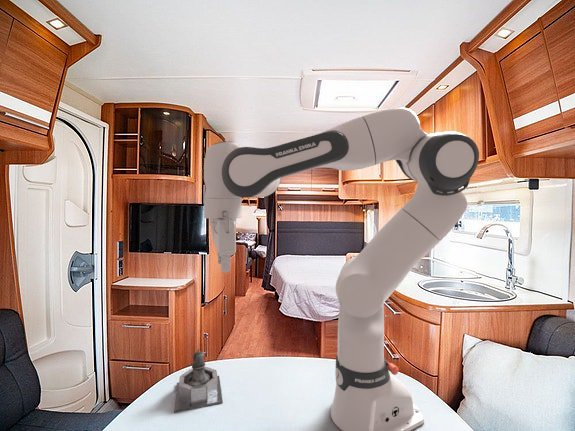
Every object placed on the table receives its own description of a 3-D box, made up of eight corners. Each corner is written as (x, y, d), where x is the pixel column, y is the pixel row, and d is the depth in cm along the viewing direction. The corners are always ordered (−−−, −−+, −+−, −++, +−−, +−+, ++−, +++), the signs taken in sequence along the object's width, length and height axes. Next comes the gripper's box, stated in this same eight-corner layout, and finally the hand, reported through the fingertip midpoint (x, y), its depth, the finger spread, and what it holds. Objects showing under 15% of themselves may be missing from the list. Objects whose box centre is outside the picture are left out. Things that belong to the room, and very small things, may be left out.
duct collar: (219, 377, 89) (219, 362, 88) (222, 403, 77) (222, 386, 77) (176, 384, 85) (176, 369, 85) (174, 412, 74) (173, 394, 73)
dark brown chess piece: (214, 391, 81) (213, 348, 81) (195, 401, 77) (194, 356, 76) (202, 382, 85) (202, 341, 85) (183, 392, 81) (183, 349, 80)
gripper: (242, 211, 61) (243, 276, 62) (231, 209, 81) (231, 259, 82) (212, 212, 60) (212, 279, 60) (207, 210, 79) (208, 260, 80)
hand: (223, 267), depth 71 cm, fingers open, 8 cm apart
